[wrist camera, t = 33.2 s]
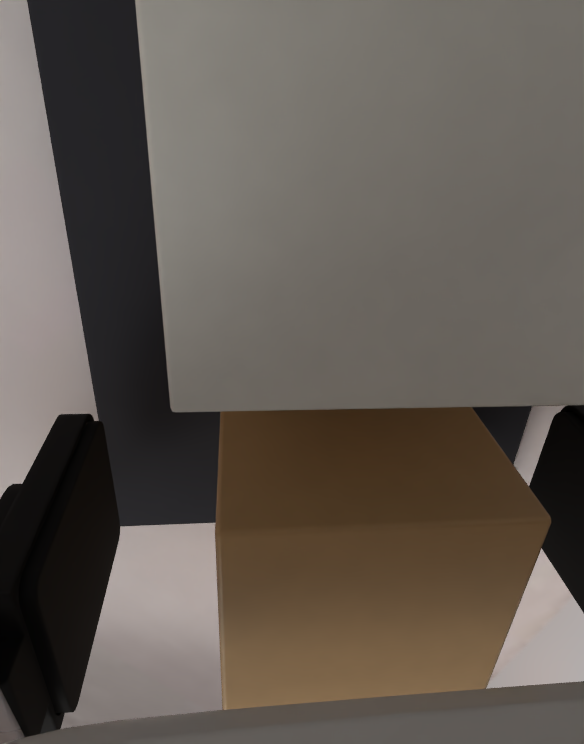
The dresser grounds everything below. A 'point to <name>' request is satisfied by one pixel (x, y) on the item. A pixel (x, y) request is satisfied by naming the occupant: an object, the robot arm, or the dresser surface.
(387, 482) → the kraft box
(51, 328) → the dresser surface
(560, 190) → the cream box
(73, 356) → the dresser surface
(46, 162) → the dresser surface
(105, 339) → the mat
